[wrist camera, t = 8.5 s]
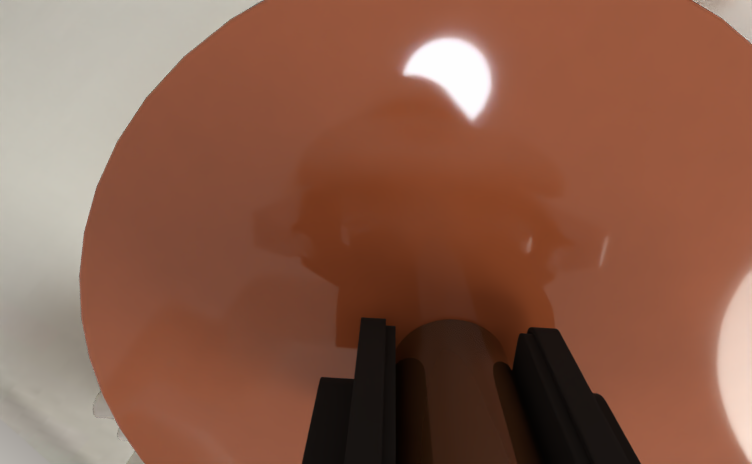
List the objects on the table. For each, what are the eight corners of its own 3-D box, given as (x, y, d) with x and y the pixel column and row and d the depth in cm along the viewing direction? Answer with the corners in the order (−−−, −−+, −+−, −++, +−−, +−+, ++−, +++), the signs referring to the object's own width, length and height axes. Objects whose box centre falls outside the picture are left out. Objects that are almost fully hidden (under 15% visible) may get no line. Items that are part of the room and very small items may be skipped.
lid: (292, 603, 16) (237, 909, 11) (-41, 153, 11) (-535, 298, 5) (829, 480, 14) (1146, 813, 8) (763, -231, 8) (1779, -941, 2)
